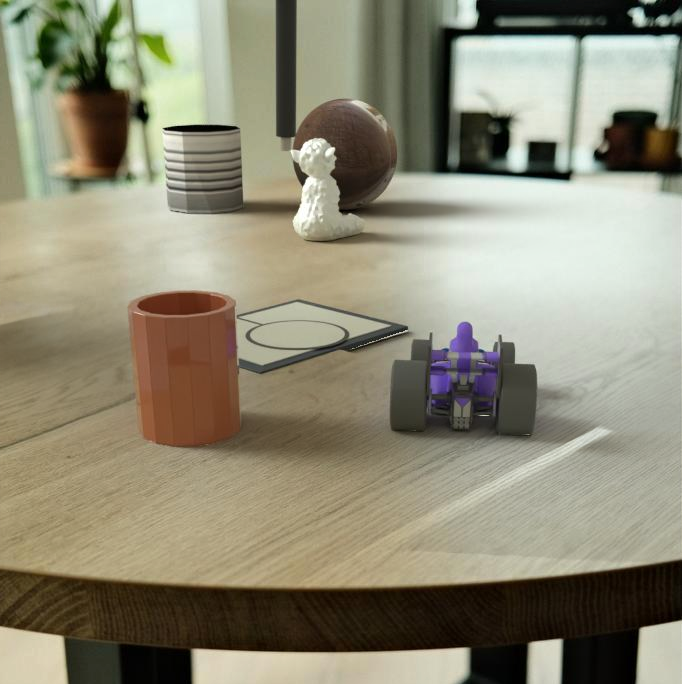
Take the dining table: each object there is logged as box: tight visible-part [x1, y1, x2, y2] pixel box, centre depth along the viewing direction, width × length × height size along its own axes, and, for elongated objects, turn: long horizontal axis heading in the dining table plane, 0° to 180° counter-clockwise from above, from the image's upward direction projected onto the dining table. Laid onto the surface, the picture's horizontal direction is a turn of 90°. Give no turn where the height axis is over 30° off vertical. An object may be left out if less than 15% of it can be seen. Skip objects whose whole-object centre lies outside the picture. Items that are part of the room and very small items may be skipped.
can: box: [161, 123, 244, 215], centre depth 148 cm, size 11×11×12 cm
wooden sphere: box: [292, 98, 398, 211], centre depth 146 cm, size 15×15×15 cm
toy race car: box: [389, 321, 538, 435], centre depth 73 cm, size 10×15×6 cm, turn 174°
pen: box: [275, 0, 298, 152], centre depth 74 cm, size 2×2×14 cm
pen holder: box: [127, 289, 242, 448], centre depth 67 cm, size 7×7×9 cm
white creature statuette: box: [290, 138, 366, 242], centre depth 128 cm, size 10×9×12 cm
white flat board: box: [237, 298, 409, 375], centre depth 89 cm, size 14×18×1 cm
